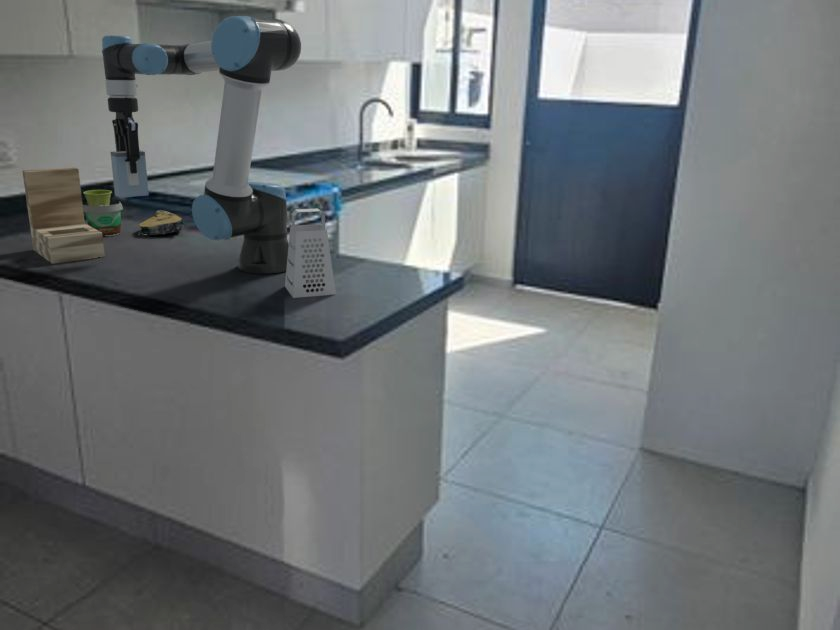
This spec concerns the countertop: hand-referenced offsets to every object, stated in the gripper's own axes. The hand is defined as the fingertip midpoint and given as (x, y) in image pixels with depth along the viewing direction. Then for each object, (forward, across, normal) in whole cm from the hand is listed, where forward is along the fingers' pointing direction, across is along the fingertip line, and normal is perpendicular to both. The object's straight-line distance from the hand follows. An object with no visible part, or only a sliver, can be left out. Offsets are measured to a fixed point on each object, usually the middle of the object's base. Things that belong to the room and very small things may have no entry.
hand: (130, 183), depth 211 cm
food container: (+21, +32, -2) cm, 38 cm away
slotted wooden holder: (+21, +14, +15) cm, 29 cm away
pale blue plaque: (+3, 0, 0) cm, 3 cm away
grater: (+21, -58, -22) cm, 66 cm away
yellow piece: (+21, +32, -20) cm, 44 cm away
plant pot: (+21, +66, -10) cm, 70 cm away
